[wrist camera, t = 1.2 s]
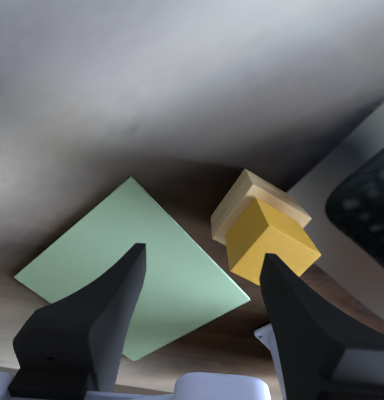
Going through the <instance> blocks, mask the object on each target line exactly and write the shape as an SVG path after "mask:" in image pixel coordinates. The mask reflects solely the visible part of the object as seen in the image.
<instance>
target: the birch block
mask: <svg viewBox="0 0 384 400" xmlns="http://www.w3.org/2000/svg"><path fill="white" fill-rule="evenodd" d="M255 197H256V198H258V199H260V200H261V201H263V202H265V203H267V204H268V205H270V206H272V207H273V208H275V209H277V210H279V211H280V212H282V213H284V214H286V215H287V216H289V217H291V218H292V219H294V220H296V221H298V222H299V224H300V225H301V227H302V228H304V227H305V226H306V224H308V222H309V221H310V220H311V219H312V218H311V217H310V216H309V215H308V214H307V212H306V211H305V210H304V209H303V207H302V206H301V205H300V204H299V203H298V201H297V200H296V199H295V198H293V197H292V196H290V195H288V194H287V193H285V192H283V191H282V190H280V189H278V188H277V187H275V186H273V185H272V184H270V183H268V182H267V181H265V180H263V179H262V178H260V177H258V176H257V175H255V174H253V173H252V172H250V171H248V170H247V169H244V170H243V172H242V173H241V175H240V176H239V177H238V179H237V180H236V182H235V183H234V184H233V186H232V187H231V189H230V190H229V191H228V193H227V194H226V196H225V197H224V198H223V200H222V201H221V203H220V204H219V205H218V207H217V208H216V210H215V211H214V212H213V214H212V215H211V230H212V239H214V240H216V241H218V242H220V243H222V244H224V245H226V241H225V235H226V234H227V233H228V232H229V230H230V229H231V228H232V226H233V225H234V224H235V223H236V221H237V220H238V219H239V217H240V216H241V215H242V214H243V212H244V211H245V210H246V208H247V207H248V206H249V204H250V203H251V202H252V201H253V199H254V198H255Z"/></svg>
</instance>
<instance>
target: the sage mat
mask: <svg viewBox="0 0 384 400" xmlns="http://www.w3.org/2000/svg"><path fill="white" fill-rule="evenodd" d="M135 243H146V269H147V270H146V275H145V279H144V283H143V287H142V290H141V293H140V295H139V298H138V301H137V304H136V307H135V309H134V312H133V315H132V318H131V321H130V324H129V327H128V331H127V335H126V339H125V343H124V347H123V351H122V354H123V355H124V356H126V357H127V358H129V359H130V360H131V361H133V362H134V361H136V360H138V359H140V358H142V357H144V356H146V355H147V354H149V353H151V352H153V351H155V350H157V349H159V348H161V347H163V346H164V345H166V344H168V343H170V342H172V341H174V340H176V339H178V338H180V337H181V336H183V335H185V334H187V333H189V332H191V331H193V330H195V329H197V328H198V327H200V326H202V325H204V324H206V323H208V322H210V321H212V320H214V319H215V318H217V317H219V316H221V315H223V314H225V313H227V312H229V311H231V310H232V309H234V308H236V307H238V306H240V305H242V304H244V303H246V302H248V301H249V300H250V298H249V297H248V296H247V295H246V294H245V292H244V291H243V290H242V289H241V288H240V287H239V286H238V285H237V284H236V283H235V282H234V281H233V280H232V279H231V278H230V277H229V276H228V275H227V274H226V273H225V272H224V271H223V270H222V269H221V268H220V267H219V266H218V265H217V264H216V263H215V262H214V261H213V260H212V259H211V257H210V256H209V255H208V254H207V253H206V252H205V251H204V250H203V249H202V248H201V247H200V246H199V245H198V244H197V243H196V242H195V241H194V240H193V239H192V238H191V237H190V236H189V235H188V234H187V233H186V232H185V231H184V230H183V229H182V228H181V227H180V226H179V225H178V223H177V222H176V221H175V220H174V219H173V218H172V217H171V216H170V215H169V214H168V213H167V212H166V211H165V210H164V209H163V208H162V207H161V206H160V205H159V204H158V203H157V202H156V201H155V200H154V199H153V198H152V197H151V196H150V195H149V194H148V193H147V192H146V191H145V189H144V188H143V187H142V186H141V185H140V184H139V183H138V182H137V181H136V180H135V179H134V178H133V177H132V176H131V177H129V178H128V179H127V180H126V181H125V182H124V183H122V184H121V185H120V186H119V187H118V188H117V189H115V190H114V191H113V192H112V193H111V194H110V195H108V196H107V197H106V198H105V199H104V200H103V201H101V202H100V203H99V204H98V205H97V206H96V207H94V208H93V209H92V210H91V211H90V212H89V213H87V214H86V215H85V216H84V217H83V218H82V219H80V220H79V221H78V222H77V223H76V224H75V225H73V226H72V227H71V228H70V229H69V230H68V231H66V232H65V233H64V234H63V235H62V236H61V237H59V238H58V239H57V240H56V241H55V242H54V243H52V244H51V245H50V246H49V247H48V248H47V249H45V250H44V251H43V252H42V253H41V254H40V255H38V256H37V257H36V258H35V259H34V260H33V261H31V262H30V263H29V264H28V265H27V266H26V267H24V268H23V269H22V270H21V271H20V272H19V273H17V274H16V275H15V276H14V278H15V279H17V280H18V281H19V282H21V283H22V284H24V285H25V286H27V287H28V288H29V289H31V290H32V291H34V292H35V293H37V294H38V295H39V296H41V297H42V298H44V299H45V300H46V301H48V302H49V303H51V304H52V303H54V302H57V301H59V300H61V299H63V298H65V297H67V296H69V295H71V294H73V293H74V292H76V291H78V290H80V289H81V288H83V287H84V286H86V285H88V284H89V283H91V282H92V281H94V280H95V279H97V278H98V277H99V276H101V275H102V274H103V273H104V272H106V271H107V270H108V269H109V268H110V267H112V266H113V265H114V264H115V263H116V262H117V261H118V260H119V259H120V258H121V257H122V256H123V255H124V254H125V253H126V252H127V251H128V250H129V249H130V248H131V247H132V246H133V245H134V244H135Z"/></svg>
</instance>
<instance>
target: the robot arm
mask: <svg viewBox="0 0 384 400" xmlns="http://www.w3.org/2000/svg"><path fill="white" fill-rule="evenodd" d="M146 270H147V269H146V243H135V244H134V245H133V246H132V247H131V248H130V249H129V250H128V251H127V252H126V253H125V254H124V255H123V256H122V257H121V258H120V259H119V260H118V261H117V262H116V263H115V264H114V265H113V266H112V267H110V268H109V269H108V270H107V271H106V272H104V273H103V274H102V275H101V276H99V277H98V278H97V279H95V280H94V281H92V282H91V283H89V284H88V285H86V286H84V287H83V288H81V289H80V290H78V291H76V292H74V293H73V294H71V295H69V296H67V297H65V298H63V299H61V300H59V301H57V302H54V303H52V304H50V305H47V306H45V307H42V308H40V309H37V310H36V311H35V312H34V313H33V314H32V315H31V316H30V318H29V319H28V320H27V321H26V323H25V324H24V325H23V327H22V328H21V330H20V331H19V332H18V334H17V335H16V336H15V338H14V340H13V348H14V351H15V354H16V357H17V359H18V362H19V364H20V367H21V368H20V369H19V371H18V372H17V374H16V375H15V376H14V375H12V374H11V373H7V372H0V400H271V398H270V393H269V388H268V385H267V384H265V383H264V382H263V381H262V380H260V379H259V378H255V377H251V376H242V375H229V374H217V373H205V372H193V373H187V374H185V375H183V376H181V377H179V378H178V380H177V382H176V384H175V388H174V394H168V395H160V396H150V395H137V394H125V393H113V391H114V387H115V382H116V377H117V373H118V369H119V364H120V360H121V356H122V351H123V347H124V343H125V339H126V335H127V331H128V327H129V324H130V321H131V318H132V315H133V312H134V309H135V307H136V304H137V301H138V298H139V295H140V293H141V290H142V287H143V283H144V279H145V275H146ZM259 281H260V287H261V293H262V297H263V300H264V303H265V306H266V310H267V313H268V316H269V319H270V322H271V323H270V324H268V325H266V326H264V327H261V328H259V329H257V330H255V331H254V335H255V337H256V338H258V339H259V340H260V341H261V342H262V343H263V344H264V345H265V346H266V347H267V348H268V349H269V350H270V351H271V355H272V358H273V362H274V366H275V370H276V374H277V378H278V381H279V385H280V389H281V393H282V397H283V400H384V334H382V333H380V332H378V331H376V330H374V329H372V328H370V327H368V326H366V325H364V324H362V323H361V322H359V321H357V320H355V319H354V318H352V317H350V316H349V315H347V314H346V313H344V312H343V311H341V310H340V309H338V308H337V307H335V306H334V305H332V304H331V303H329V302H328V301H327V300H325V299H324V298H323V297H321V296H320V295H319V294H318V293H316V292H315V291H314V290H313V289H312V288H310V287H309V286H308V285H307V284H306V283H305V282H304V281H303V280H302V279H300V278H299V277H298V276H297V275H296V274H295V273H294V272H293V271H292V270H291V269H290V268H289V267H288V266H287V265H286V264H285V263H284V262H283V260H282V259H281V258H280V257H279V256H278V255H277V254H275V253H265V257H264V261H263V265H262V269H261V273H260V277H259Z"/></svg>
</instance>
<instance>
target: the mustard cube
mask: <svg viewBox="0 0 384 400" xmlns="http://www.w3.org/2000/svg"><path fill="white" fill-rule="evenodd" d="M225 241H226V247H227V254H228V260H229V267H230V271H231V272H233V273H235V274H237V275H239V276H241V277H243V278H245V279H247V280H249V281H251V282H253V283H255V284H257V285H259V286H260V281H259V277H260V273H261V269H262V265H263V261H264V257H265V253H275V254H277V255H278V256H279V257H280V258H281V259H282V260H283V262H284V263H285V264H286V265H287V266H288V267H289V268H290V269H291V270H292V271H293V272H294V273H295V274H296V275H297V276H298V277H299V276H300V275H301V274H302V273H303V272H304V271H305V270H306V269H307V268H308V267H309V266H310V265H312V264H313V263H314V262H315V260H317V259H318V258H319V257H320V256H321V254H320V252H319V251H318V249H317V248H316V247H315V245H314V244H313V242H312V241H311V239H310V238H309V237H308V235H307V234H306V233H305V231H304V230H303V228H302V227H301V225H300V224H299V222H298V221H296V220H294V219H292V218H291V217H289V216H287V215H286V214H284V213H282V212H280V211H279V210H277V209H275V208H273V207H272V206H270V205H268V204H267V203H265V202H263V201H261V200H260V199H258V198H256V197H255V198H254V199H253V201H252V202H251V203H250V204H249V206H248V207H247V208H246V210H245V211H244V212H243V214H242V215H241V216H240V217H239V219H238V220H237V221H236V223H235V224H234V225H233V226H232V228H231V229H230V230H229V232H228V233H227V234H226V235H225Z"/></svg>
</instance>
